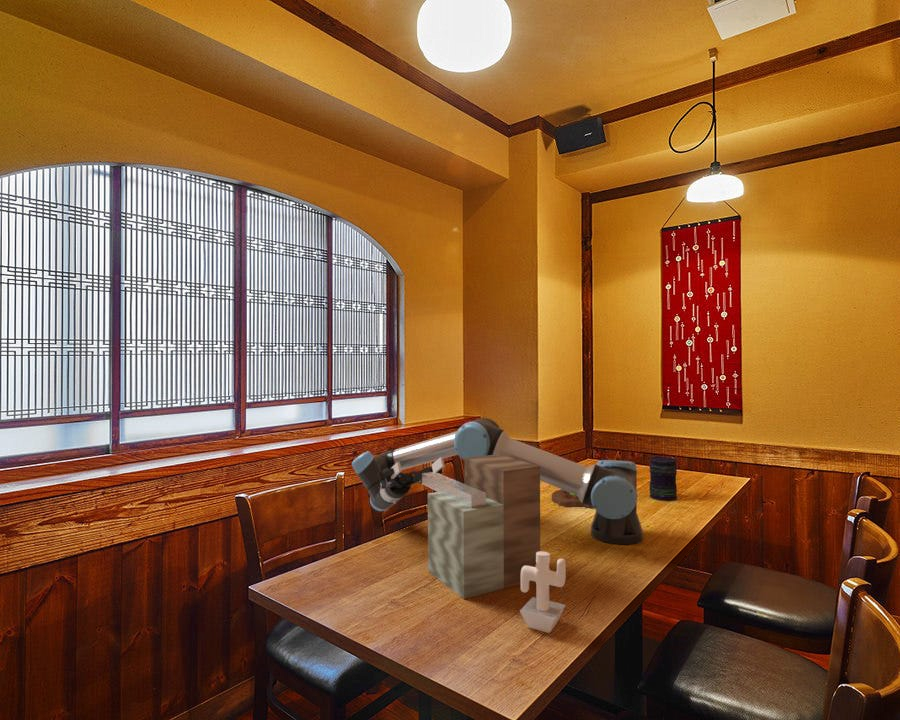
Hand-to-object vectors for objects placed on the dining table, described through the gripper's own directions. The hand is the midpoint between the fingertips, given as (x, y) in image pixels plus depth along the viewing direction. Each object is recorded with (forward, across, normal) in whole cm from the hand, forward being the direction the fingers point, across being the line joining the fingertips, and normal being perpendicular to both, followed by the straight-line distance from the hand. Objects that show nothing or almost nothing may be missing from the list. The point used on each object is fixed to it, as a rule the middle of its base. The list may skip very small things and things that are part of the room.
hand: (421, 463), depth 150 cm
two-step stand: (+7, -6, -33) cm, 34 cm away
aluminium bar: (+12, 0, -13) cm, 18 cm away
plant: (-27, -74, -14) cm, 80 cm away
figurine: (+30, -3, -46) cm, 55 cm away
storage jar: (-15, -106, -20) cm, 109 cm away
